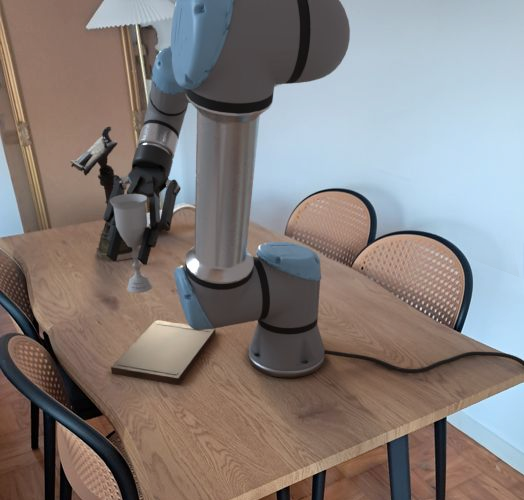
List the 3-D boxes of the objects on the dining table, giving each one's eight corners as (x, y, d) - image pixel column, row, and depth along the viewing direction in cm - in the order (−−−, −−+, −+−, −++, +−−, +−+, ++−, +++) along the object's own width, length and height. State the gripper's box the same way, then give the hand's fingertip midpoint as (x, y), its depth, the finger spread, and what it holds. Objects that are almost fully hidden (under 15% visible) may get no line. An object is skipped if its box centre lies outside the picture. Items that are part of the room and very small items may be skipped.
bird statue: (87, 268, 151) (64, 133, 133) (76, 253, 161) (52, 125, 142) (146, 257, 158) (131, 127, 140) (131, 243, 167) (116, 120, 149)
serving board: (215, 334, 120) (215, 328, 119) (178, 385, 103) (178, 378, 102) (156, 325, 123) (156, 319, 122) (111, 373, 107) (110, 366, 106)
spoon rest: (136, 239, 171) (133, 216, 167) (128, 227, 180) (125, 205, 177) (208, 229, 179) (207, 207, 175) (197, 218, 188) (196, 197, 185)
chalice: (148, 296, 109) (138, 205, 99) (116, 293, 110) (103, 203, 101) (161, 281, 115) (152, 194, 106) (131, 279, 116) (119, 193, 107)
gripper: (204, 167, 112) (178, 272, 107) (120, 162, 116) (92, 263, 111) (192, 144, 105) (164, 256, 100) (104, 140, 109) (72, 246, 104)
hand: (126, 259), depth 105 cm, fingers closed on chalice, 6 cm apart
